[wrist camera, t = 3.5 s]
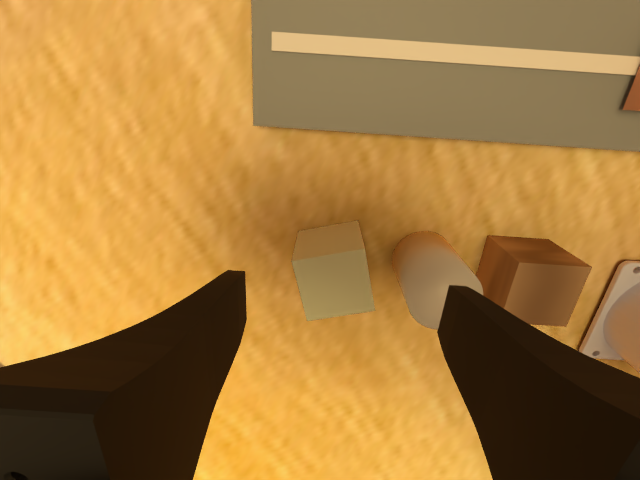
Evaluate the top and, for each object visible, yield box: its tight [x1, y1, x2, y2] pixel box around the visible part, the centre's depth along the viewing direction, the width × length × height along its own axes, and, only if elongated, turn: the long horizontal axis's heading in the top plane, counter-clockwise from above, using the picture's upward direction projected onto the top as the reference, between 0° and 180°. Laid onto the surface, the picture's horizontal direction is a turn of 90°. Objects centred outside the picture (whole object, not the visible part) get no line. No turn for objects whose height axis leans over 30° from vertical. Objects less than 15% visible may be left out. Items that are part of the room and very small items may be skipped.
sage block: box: [291, 220, 375, 321], centre depth 21 cm, size 4×4×4 cm
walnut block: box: [476, 235, 592, 327], centre depth 21 cm, size 4×4×4 cm
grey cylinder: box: [392, 231, 483, 329], centre depth 20 cm, size 4×4×5 cm
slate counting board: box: [251, 0, 640, 152], centre depth 17 cm, size 24×8×2 cm, turn 86°
